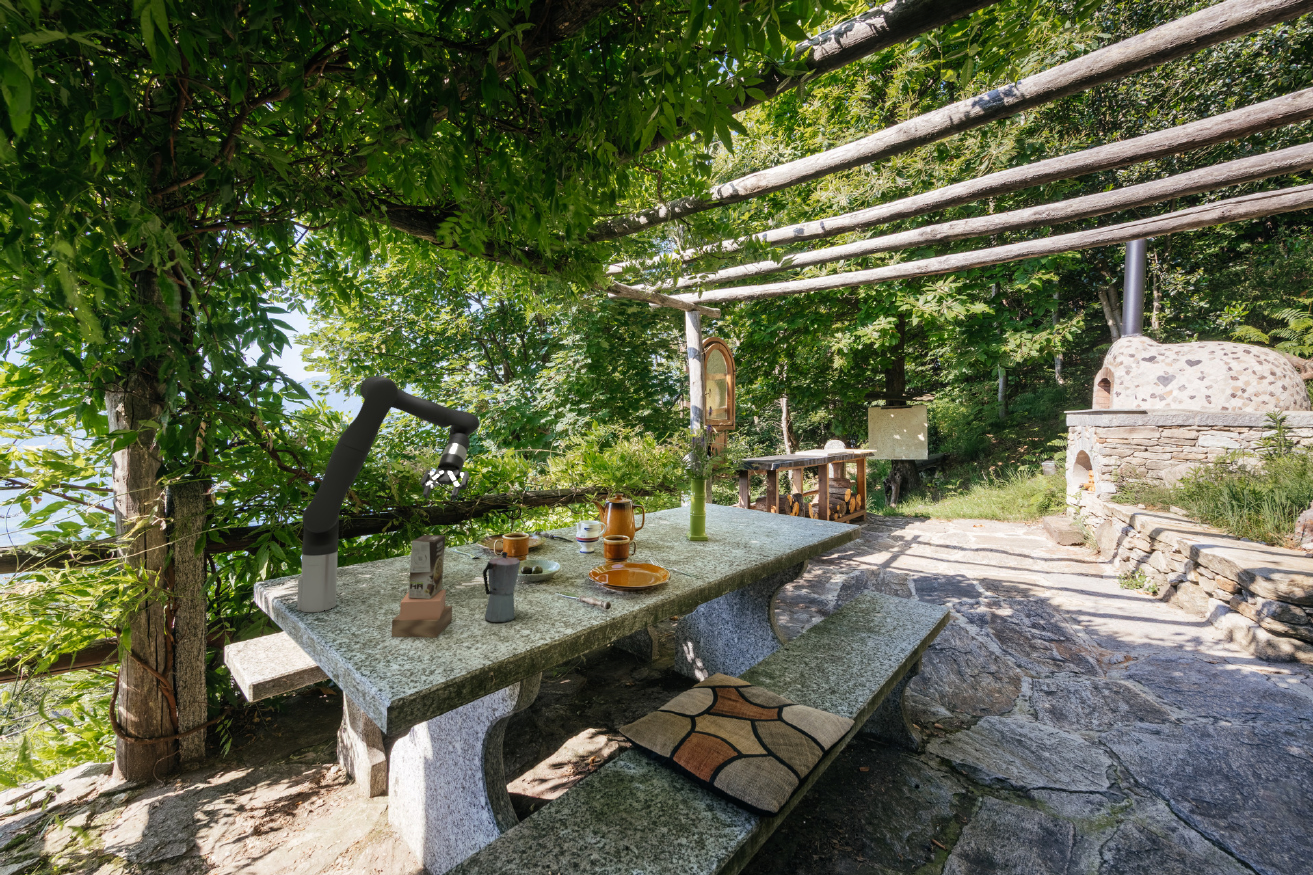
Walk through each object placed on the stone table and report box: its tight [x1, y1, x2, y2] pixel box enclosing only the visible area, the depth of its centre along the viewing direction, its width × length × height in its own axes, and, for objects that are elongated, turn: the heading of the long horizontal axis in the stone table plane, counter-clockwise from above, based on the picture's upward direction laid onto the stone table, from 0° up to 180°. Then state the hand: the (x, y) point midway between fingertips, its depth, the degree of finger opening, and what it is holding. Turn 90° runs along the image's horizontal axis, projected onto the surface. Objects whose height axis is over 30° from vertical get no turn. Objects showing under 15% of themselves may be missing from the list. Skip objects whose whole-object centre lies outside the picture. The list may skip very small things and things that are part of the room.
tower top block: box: [399, 589, 447, 621], centre depth 147 cm, size 10×10×5 cm
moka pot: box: [482, 551, 521, 623], centre depth 157 cm, size 10×15×20 cm, turn 161°
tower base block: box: [391, 605, 453, 639], centre depth 148 cm, size 12×12×5 cm
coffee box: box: [408, 534, 446, 599], centre depth 148 cm, size 9×6×16 cm
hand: (439, 497), depth 166 cm, fingers open, 8 cm apart
